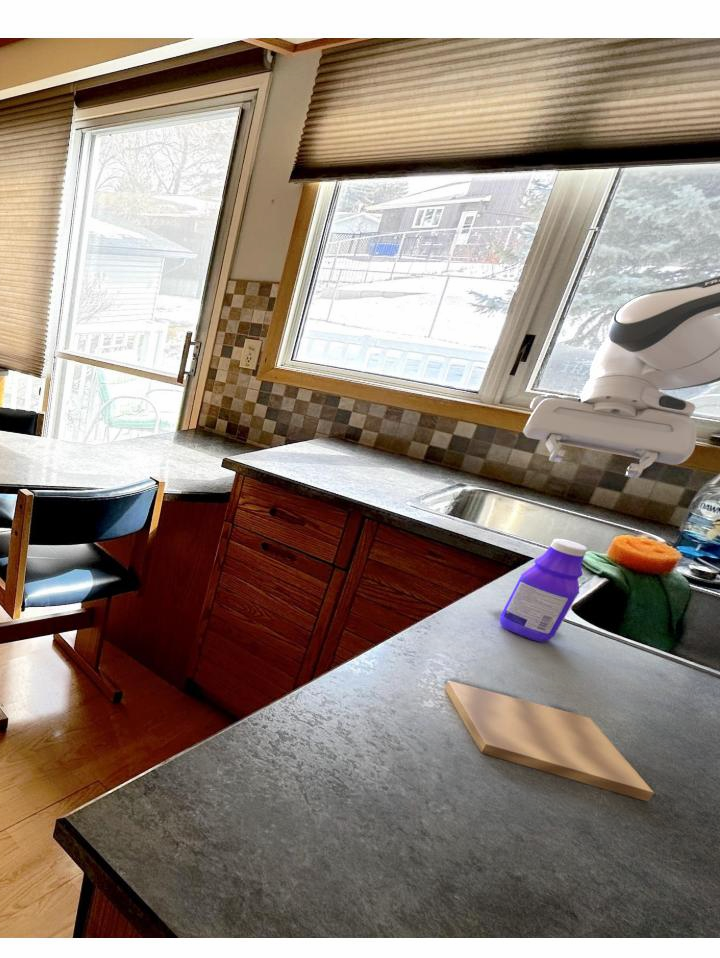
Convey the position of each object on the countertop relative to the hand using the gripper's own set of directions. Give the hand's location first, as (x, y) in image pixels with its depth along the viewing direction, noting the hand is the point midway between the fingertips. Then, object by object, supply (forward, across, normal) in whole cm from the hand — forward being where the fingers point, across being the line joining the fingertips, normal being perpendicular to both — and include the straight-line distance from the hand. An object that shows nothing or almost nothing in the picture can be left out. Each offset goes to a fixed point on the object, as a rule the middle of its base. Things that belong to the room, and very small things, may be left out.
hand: (593, 467), depth 105 cm
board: (+54, +1, -14) cm, 56 cm away
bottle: (+29, 0, +11) cm, 31 cm away
